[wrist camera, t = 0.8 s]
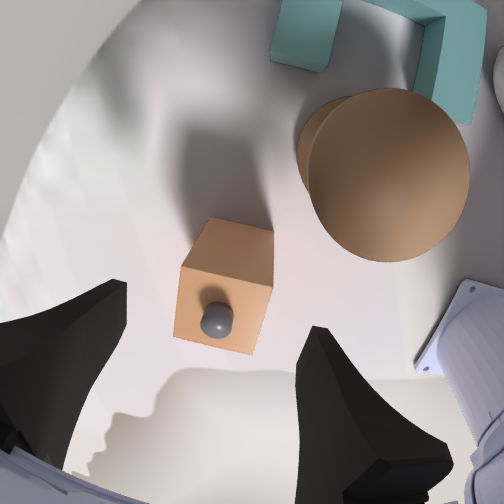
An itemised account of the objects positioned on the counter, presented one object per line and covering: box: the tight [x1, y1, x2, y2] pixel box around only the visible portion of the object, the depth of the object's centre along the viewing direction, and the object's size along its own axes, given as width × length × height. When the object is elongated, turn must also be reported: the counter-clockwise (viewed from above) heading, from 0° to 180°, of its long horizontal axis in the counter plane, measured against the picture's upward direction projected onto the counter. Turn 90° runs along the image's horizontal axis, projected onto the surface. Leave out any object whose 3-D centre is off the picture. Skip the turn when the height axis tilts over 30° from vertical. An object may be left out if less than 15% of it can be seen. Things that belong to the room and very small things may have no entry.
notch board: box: [270, 0, 487, 125], centre depth 11 cm, size 10×7×2 cm
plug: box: [173, 217, 274, 355], centre depth 15 cm, size 4×4×7 cm
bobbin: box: [297, 88, 470, 262], centre depth 13 cm, size 6×6×6 cm
